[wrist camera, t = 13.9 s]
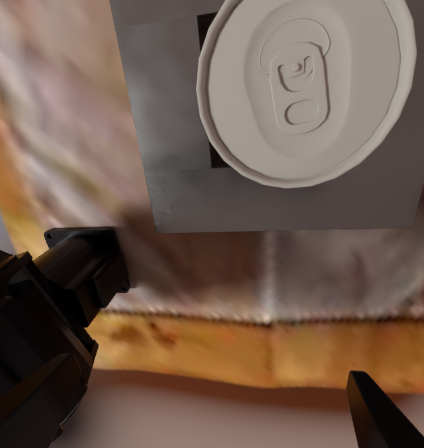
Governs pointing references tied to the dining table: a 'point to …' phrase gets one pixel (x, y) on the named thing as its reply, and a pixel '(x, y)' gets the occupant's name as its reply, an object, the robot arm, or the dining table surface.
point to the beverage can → (304, 84)
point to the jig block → (220, 170)
